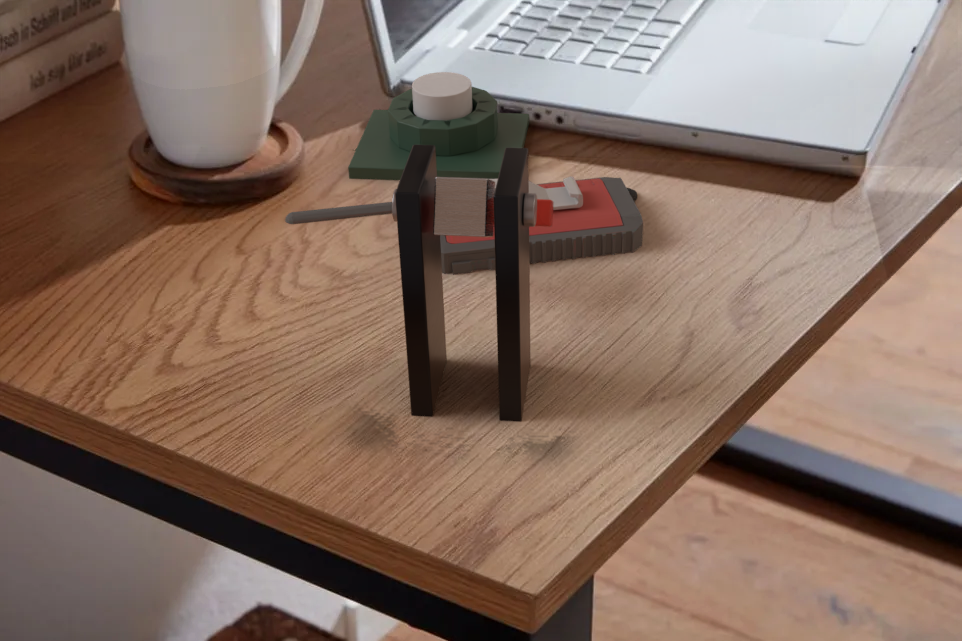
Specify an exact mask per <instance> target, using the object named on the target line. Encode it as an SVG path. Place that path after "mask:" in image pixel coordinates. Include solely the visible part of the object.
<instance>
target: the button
mask: <svg viewBox="0 0 962 641" xmlns="http://www.w3.org/2000/svg"><path fill="white" fill-rule="evenodd" d="M472 87H473V86H472V80H471V79H470V78H469V77H468V76H465V74H462V73H457V72H452V71H439V72H431V73H426V74H423V75H421V76H418V77H417V78H416V79H415V80H413V82H412V84H411V89H412V95H413V111H414V114H415V116H417V117H420V118H423V119H427V120H452V119H457V118H462V117H465V116H466V115H468V114H470V113H471V112H472Z"/></svg>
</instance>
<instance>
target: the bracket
mask: <svg viewBox="0 0 962 641" xmlns="http://www.w3.org/2000/svg"><path fill="white" fill-rule="evenodd" d="M529 171H530V170H529V148H528V147H524V148H508V147H507V148H505V151H504V155H503V160H502V164H501V168H500V172H499V176H498V180H497V184H496V188H495V193H494V197H493V200H494V237H495V270H494V272H495V303H496V304H495V305H496V306H495V307H496V308H495V309H496V311H495V312H496V343H497V344H496V345H497V349H496V350H497V379H498V380H497V382H498V383H497V384H498V386H497V387H498V419H499V421H501V422H515V423H516V422H522V421H523V415H524V408H525V404H526V403H525V402H526V397H527V396H526V395H527V390H528V382H529V377H530V371H531V288H530V287H531V281H530V279H531V278H530V277H531V276H530V268H531V266H530V263H529V227H534V226H535V225H536V218H537V195H536V193H529V181H530V179H529V176H530V174H529V173H530V172H529ZM436 177H437V168H436V149H435V146H434V145H413V146H412V149H411V152H410V154H409V157H408V160H407V163H406V165H405V168H404V171H403V173H402V176H401V179H400V180H398V185H397V187H396V188H395V189H394V190H393V193H392V200H391V202H392V219H393V221H394V222H395V223H396V227H397V240H398V252H399V267H400V282H401V294H402V308H403V321H404V323H403V324H404V336H405V348H406V362H407V376H408V389H409V404H410V414H411V416H412V417H424V418H425V417H426V418H432V417H434V414H435V411H436V405H437V402H438V398H439V394H440V390H441V385H442V382H443V377H444V374H445V370H446V365H447V362H448V359H447V357H448V356H447V339H446V322H445V319H446V318H445V302H444V301H445V300H444V284H443V283H444V281H443V273H442V262H441V243H440V235H434V234H433V225H434V196H435V178H436Z"/></svg>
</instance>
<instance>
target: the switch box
mask: <svg viewBox="0 0 962 641" xmlns="http://www.w3.org/2000/svg"><path fill="white" fill-rule="evenodd" d="M529 126H530V114H529V113H517V112H516V113H511V112H498V100H497V99H496V98H494V97H493V95H492V94H490V93H489V92H488V91H487V90H485V89H481V88H479V87H476V86H472V112H471V113H470V114H468V115H466V116H465V117H462V118H457V119H452V120H427V119H423V118H420V117H417V116H415V114H414V111H413V95H412V88H410V89H407V90H406V91H404V92H402V93H400V94H399V95H396V96H394V97H393V98H392V100H391V102H390V104H389V107H388V109H373V110H372V113H371V115H370V117H369V119H368V121H367V124H366V126H365V128H364V131H363V133H362V135H361V137H360V140H359V142H358V144H357V146H356V149H355V152H353V156H352V158H351V160H350V162H349V164H348V167H347V171H348V178H349V179H350V180H373V181H400V179H401V176H402V173H403V171H404V168H405V165H406V163H407V160H408V157H409V154H410V152H411V149H412V146H413V145H434V146H435V149H436V168H437V177H459V178H487V179H498V176H499V172H500V168H501V164H502V160H503V155H504V151H505V148H507V147H508V148H525V144H526V139H527V134H528V130H529Z"/></svg>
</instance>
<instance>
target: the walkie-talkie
mask: <svg viewBox="0 0 962 641" xmlns="http://www.w3.org/2000/svg"><path fill="white" fill-rule="evenodd" d="M490 180H493V181H495V188H496V184H497V180H498V179H490ZM529 193H536V195H537V199H547V200H552V201H553V202H554V203H553V225H552V226H551V227H543V226H534V227H529V264H532V265H535V264H536V263H546V262H556V261H566V260H569V259H571V260H576V259H579V258H581V259H586V258H588V257H589V258H590V257H592V258H596V257H597V256H602V257H605V256H606V255H612V256H616V255H617V254H621V255H623V254H624V255H625V254H626V253H632V254H633V253H634V252H636V251H637V250H638V249H639V248H641V247H642V246H643V237H644V236H643V234H644V233H643V232H644V220H643V216H642V214H641V212H640V209H639V207H638V206H637V205H636V203H635V202H636V201H637V200H638V192H637V191H636V190H635V189H632V188H630V187H627V186H626V184H625V183H624V181H623V178H622V177H610V176H601V177H592V178H582V179H575V177H574V176H572V175H571V176H568V177H565V178H563V180H561V181H555V182H544V183H537V184H536V183H535V182H533V181H531V180H529ZM390 214H392V201H387V202H385V201H384V202H376V203H375V202H374V203H366V204H365V203H364V204H356V205H348V206H347V205H345V206H338V207H328V208H327V207H326V208H318V209H309V210H308V209H307V210H300V211H291V212H289V213H288V214H286V216H285V219H284V220H285V222H286V223H285V224H289V225H299V224H300V225H301V224H308V223H318V222H327V221H335V220H336V221H337V220H345V219H353V218H364V217H371V216H381V215H390ZM440 243H441V262H442V275H443V274H444V275H446V274H452V275H453V276H454V275H463V274H471V273H472V272H475V271H484V270H485V271H486V270H489V271H495V237H494V231H493V236H492V237H471V236H445V235H440Z"/></svg>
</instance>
